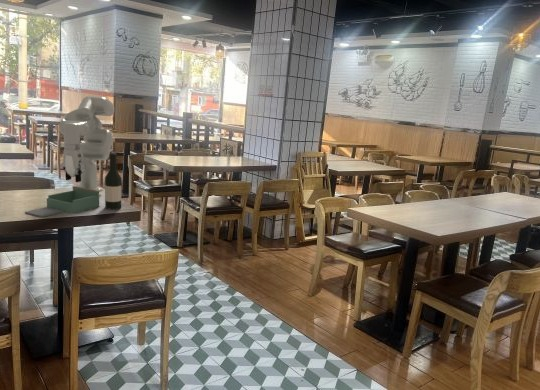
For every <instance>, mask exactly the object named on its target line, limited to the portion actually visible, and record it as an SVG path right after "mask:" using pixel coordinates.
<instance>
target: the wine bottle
mask: <svg viewBox="0 0 540 390" xmlns="http://www.w3.org/2000/svg"><path fill="white" fill-rule="evenodd" d="M104 194H105V195H104V203H105V204H104V205H105V206H104V207H105V209H106V210H111V211H112V210H120V209H122V176H121V175H120V173H119V171H118V169H117V153H116V152H110V154H109V171H108V172H107V174H106V175H105V176H104Z"/></svg>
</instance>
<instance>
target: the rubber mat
mask: <svg viewBox="0 0 540 390" xmlns="http://www.w3.org/2000/svg"><path fill="white" fill-rule="evenodd" d="M63 213H64V211H61V210H56V209H52V208H47V206H44V207H41V208H36V209H31V210H27V211H24V214H26V215H29V216H34V217H38V216H39V218H42V217H43V218H46V216H47V217H50V216H53V215H58V214H63Z"/></svg>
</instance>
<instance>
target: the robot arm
mask: <svg viewBox="0 0 540 390" xmlns="http://www.w3.org/2000/svg"><path fill="white" fill-rule="evenodd" d="M114 113H115V106H114V103H113V102H112V100H109V99H108V98H107V97H104V96H94V95H88V96H85V97H83V99H82V100H81V102H80V104H79V106H78V107H77V108H76V109H74V110H72V111H69V112H68V113H65V114H64V115H63V116H62V118H61V120H60V121H59V125H58V130H59V133H61V134H62V135H63V145H64V146H63V147H64V149H63V155H62V162H61V165H60V166H61V167H62V169H63V170H64V171H63V172H64V174H65V180H66V181H70V180H72V177H71V176H70V175H69V174H68V173H67V171H66V166H65V160H66V155H68V156H72V160H73V166H74V169H75V172H76V175H75V177H74V179H75V181H74V182H75V183H78V184H79V186H78V187H82V188H87V189H92V190H98V191H100V192H99V198H100V197H101V194H100V193H101V192H103V191H104V188H102V187H101V188H98V168H97V164H96V162H94V161H106V160H108V159H109V158H110V154H111V150H112V149H111V148H112V145H113V140H114V139H113V132H112V131H111V130H110V129H105V128H103V123H102V121H101V120H100V119H99V118H98V117H97V116H99V117H100V116H101V117H111V116H113V115H114ZM81 136H82V137H83V141H84V142H82V143H81ZM78 166H80V167H79V168H78ZM78 170H79V171H78Z"/></svg>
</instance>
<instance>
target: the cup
mask: <svg viewBox="0 0 540 390" xmlns="http://www.w3.org/2000/svg"><path fill="white" fill-rule="evenodd" d="M65 166H66V171H67V173H68V174H69V175H70V176H71V178H75V175H76V172H75V169H74V166H73V160H72V156H68V155H66V160H65ZM79 167H80V166H78V168H79ZM78 171H79V170H78Z"/></svg>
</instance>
